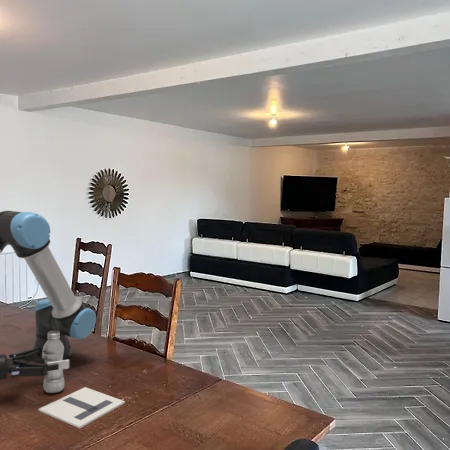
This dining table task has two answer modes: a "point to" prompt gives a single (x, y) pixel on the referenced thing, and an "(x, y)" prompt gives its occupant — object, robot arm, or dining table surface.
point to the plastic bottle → (51, 354)
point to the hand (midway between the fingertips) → (65, 357)
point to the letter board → (81, 407)
